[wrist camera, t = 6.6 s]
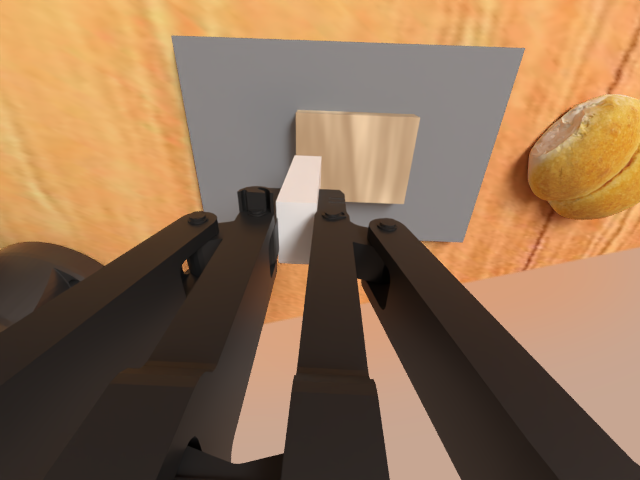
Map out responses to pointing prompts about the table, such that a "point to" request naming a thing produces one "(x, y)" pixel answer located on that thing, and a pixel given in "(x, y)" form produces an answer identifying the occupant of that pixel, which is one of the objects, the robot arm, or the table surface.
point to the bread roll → (590, 159)
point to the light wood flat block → (360, 152)
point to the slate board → (346, 96)
